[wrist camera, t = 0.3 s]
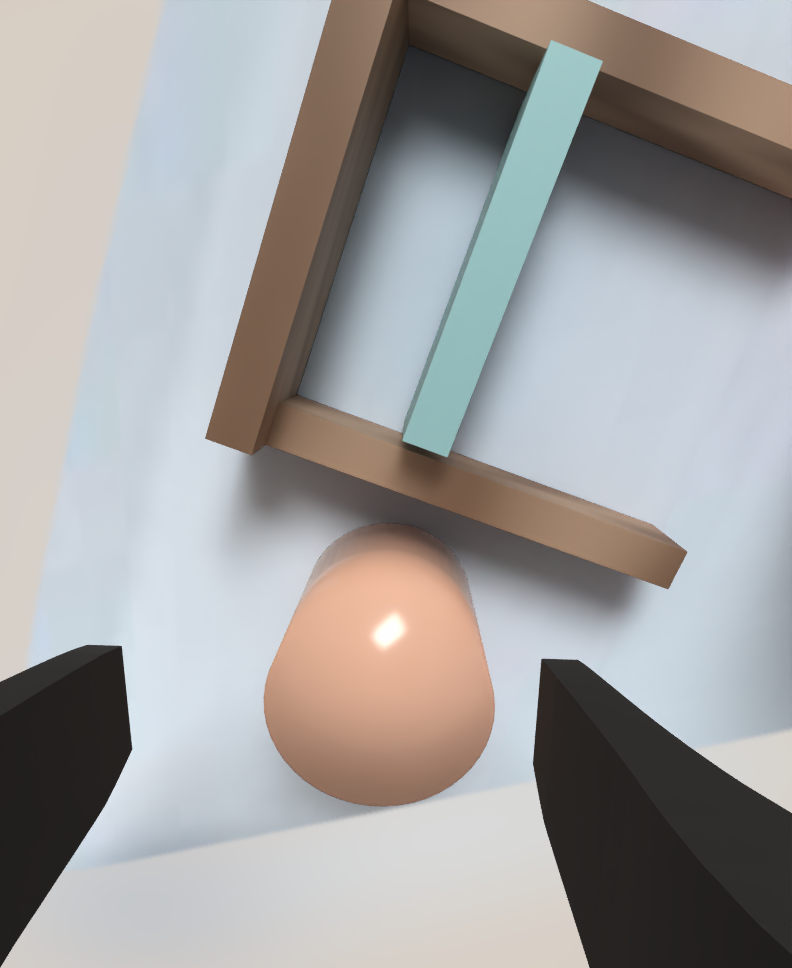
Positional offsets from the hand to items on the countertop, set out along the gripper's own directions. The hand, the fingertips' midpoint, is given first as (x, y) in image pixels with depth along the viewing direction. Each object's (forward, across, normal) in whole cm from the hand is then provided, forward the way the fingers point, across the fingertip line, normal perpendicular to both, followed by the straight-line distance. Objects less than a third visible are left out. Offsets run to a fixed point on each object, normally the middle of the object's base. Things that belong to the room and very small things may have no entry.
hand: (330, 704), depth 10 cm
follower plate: (+10, -3, -8) cm, 13 cm away
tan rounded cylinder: (+10, -1, +2) cm, 10 cm away
